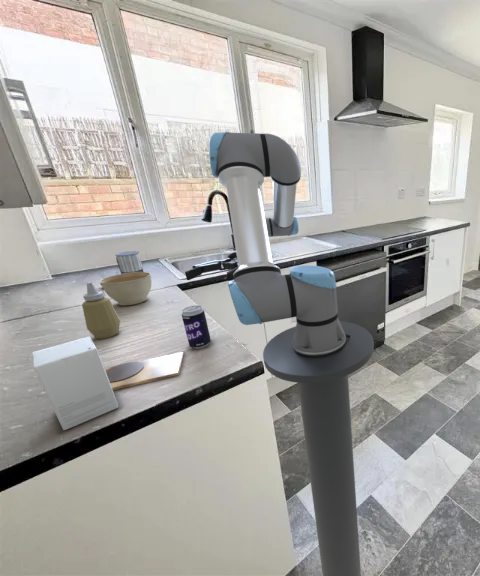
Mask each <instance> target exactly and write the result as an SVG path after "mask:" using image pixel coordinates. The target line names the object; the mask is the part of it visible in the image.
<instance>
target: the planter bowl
mask: <svg viewBox="0 0 480 576" xmlns="http://www.w3.org/2000/svg"><path fill="white" fill-rule="evenodd" d="M100 283H101V284H100ZM99 284H100V286H101V285H102V289H103V291H104V292H105V293H106V295H107V296H108V297H109V298H111V300H113V301H115V302H116V303H117V304H118V305H119V306H132V305H137V304H141V303H144V302H145V301H147V300H148V295H149V293H150V292H151V289H152V274H151V272H148V271H143V272H131V273H124V274H121V273H119V274H114V275H110V276H106V277H103V278H101V279H100V280H99Z"/></svg>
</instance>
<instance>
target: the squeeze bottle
mask: <svg viewBox="0 0 480 576" xmlns="http://www.w3.org/2000/svg"><path fill="white" fill-rule="evenodd" d="M82 298H83V299H84V301H83V302H82V303H81V306H82V311H83V316H84V320H85V326H86V330H88V332H89V333H90V334H91V335H93V337H94V338H95V339H99V340H102V339H107V338H110V337H115V336H116V335H118V334H119V333H120V326H121V320H120V318H119V315H118V313H117V311H116V309H115V307H114V306H113V303H112V301H111V299H110V297H105V293H104V292H103V291H101V290H100V291H99V290H98V289H97V288H96V286H95V284H94V283H93V282H92V281H89V282H86V293H85V294H84V295H83V297H82Z"/></svg>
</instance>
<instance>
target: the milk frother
mask: <svg viewBox="0 0 480 576" xmlns="http://www.w3.org/2000/svg"><path fill="white" fill-rule="evenodd" d="M139 253H140V252H139V251H136V250H132V251H122V252H117V253H115V254H114V256H116V257H115V259H116V260H115V261H116V264H117V267H118V268H119V271H120V274H124V273H131V272H144V268H143V264H142V261H141V257H140V254H139ZM99 284H100V286H102V285H101V283H100V282H99ZM102 287H103V286H102Z"/></svg>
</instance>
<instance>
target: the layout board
mask: <svg viewBox="0 0 480 576" xmlns="http://www.w3.org/2000/svg"><path fill="white" fill-rule="evenodd" d="M184 355H185V353H184V351H180V352H175V353H171V354H165V355H161V356H156V357H151V358H146V359H142V360H141V359H140V360H135V361H128V362H124V363H120V364H118V365H113V366H108V367H104V369H105V371H106V374H107V376H108V379H109V382H110V384H111V387H112V390H113V391H117V390H121V389H125V388H130V387H133V386H139V385H142V384H148V383H151V382H156V381H160V380H164V379H169V378H172V377H176V376H179V375H180V372H181V367H182V365H183V364H182V363H183V360H184Z"/></svg>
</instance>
